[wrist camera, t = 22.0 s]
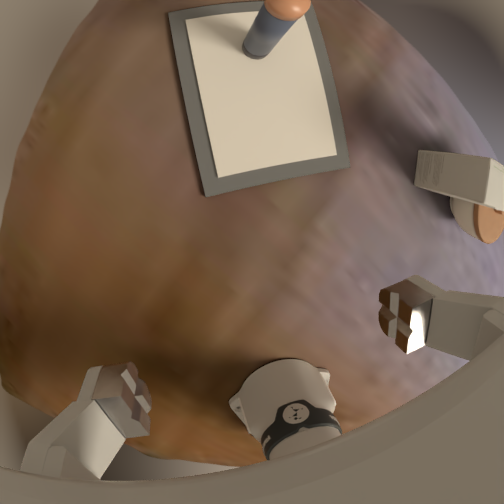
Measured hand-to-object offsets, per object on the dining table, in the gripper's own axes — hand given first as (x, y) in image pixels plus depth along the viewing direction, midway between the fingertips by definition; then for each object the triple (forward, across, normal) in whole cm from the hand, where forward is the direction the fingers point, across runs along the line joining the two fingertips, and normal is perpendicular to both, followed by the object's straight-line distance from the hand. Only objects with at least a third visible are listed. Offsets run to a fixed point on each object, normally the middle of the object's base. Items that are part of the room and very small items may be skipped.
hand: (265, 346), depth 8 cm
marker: (+28, +10, +19) cm, 35 cm away
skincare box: (+29, +37, -2) cm, 47 cm away
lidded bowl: (+29, +46, -8) cm, 55 cm away
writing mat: (+29, +10, +14) cm, 34 cm away
